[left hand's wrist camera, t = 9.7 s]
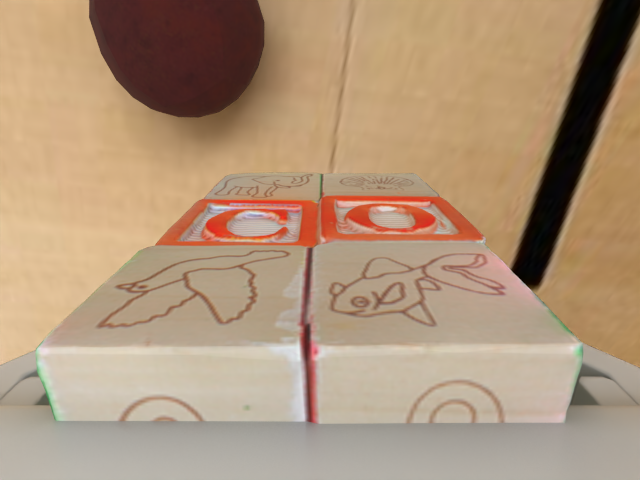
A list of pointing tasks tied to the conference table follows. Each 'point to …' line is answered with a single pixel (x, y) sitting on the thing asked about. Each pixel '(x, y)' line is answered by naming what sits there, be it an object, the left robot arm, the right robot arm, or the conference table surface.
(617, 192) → the conference table surface
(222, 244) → the stack of blocks
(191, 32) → the plum
